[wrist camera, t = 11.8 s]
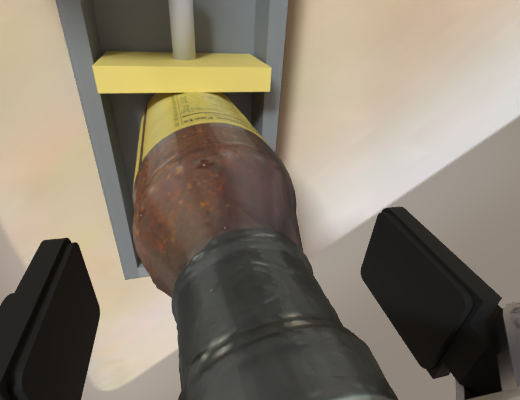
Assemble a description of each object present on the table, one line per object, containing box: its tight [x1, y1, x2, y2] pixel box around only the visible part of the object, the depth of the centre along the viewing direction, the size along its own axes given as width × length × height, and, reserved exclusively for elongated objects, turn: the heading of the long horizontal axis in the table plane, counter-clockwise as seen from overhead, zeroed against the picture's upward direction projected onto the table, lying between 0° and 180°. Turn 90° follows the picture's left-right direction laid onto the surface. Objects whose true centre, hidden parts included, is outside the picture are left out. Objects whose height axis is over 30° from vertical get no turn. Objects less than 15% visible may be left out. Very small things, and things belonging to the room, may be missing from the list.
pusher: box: [92, 0, 272, 93], centre depth 16 cm, size 8×5×5 cm, turn 87°
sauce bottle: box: [132, 92, 398, 400], centre depth 13 cm, size 7×6×20 cm
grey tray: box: [56, 0, 288, 280], centre depth 21 cm, size 11×22×4 cm, turn 177°
